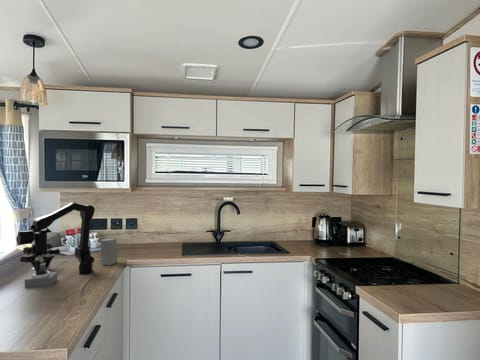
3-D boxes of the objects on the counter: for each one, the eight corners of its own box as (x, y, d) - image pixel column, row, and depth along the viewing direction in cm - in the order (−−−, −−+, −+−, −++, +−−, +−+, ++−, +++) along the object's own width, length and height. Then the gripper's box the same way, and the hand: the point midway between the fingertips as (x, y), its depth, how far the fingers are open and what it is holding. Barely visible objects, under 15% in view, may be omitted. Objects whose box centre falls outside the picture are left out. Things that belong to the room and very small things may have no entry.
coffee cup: (32, 272, 186) (32, 247, 186) (38, 267, 196) (37, 243, 195) (50, 271, 189) (50, 246, 189) (55, 266, 198) (55, 242, 198)
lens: (42, 272, 170) (42, 259, 170) (48, 273, 168) (48, 260, 168) (34, 275, 166) (33, 261, 165) (40, 275, 164) (40, 262, 164)
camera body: (57, 280, 173) (56, 269, 172) (50, 285, 164) (50, 275, 164) (32, 281, 170) (32, 271, 170) (24, 287, 161) (24, 276, 161)
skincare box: (109, 265, 199) (109, 240, 199) (99, 265, 201) (99, 240, 200) (117, 262, 207) (117, 238, 207) (108, 261, 209) (107, 237, 209)
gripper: (45, 237, 178) (46, 265, 178) (12, 244, 161) (12, 275, 161) (60, 238, 174) (61, 266, 175) (27, 246, 157) (28, 277, 157)
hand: (41, 271), depth 167 cm, fingers closed on lens, 4 cm apart
